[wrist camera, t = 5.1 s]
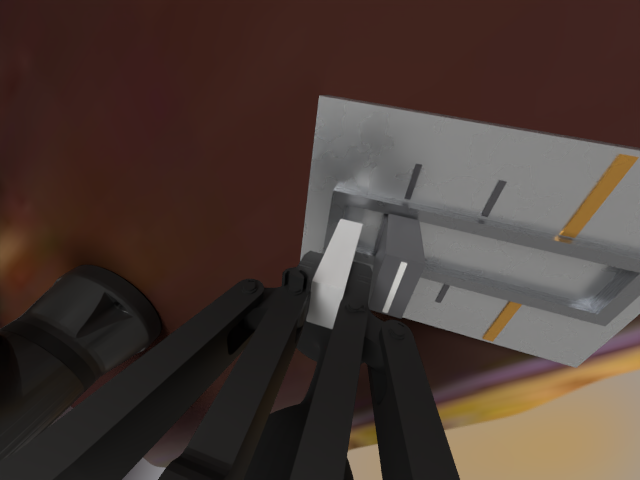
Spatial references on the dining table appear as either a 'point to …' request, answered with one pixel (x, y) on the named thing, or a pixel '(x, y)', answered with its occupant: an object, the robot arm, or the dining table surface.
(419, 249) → the fader knob
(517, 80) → the dining table surface
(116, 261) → the dining table surface
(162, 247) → the dining table surface
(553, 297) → the console
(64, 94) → the dining table surface
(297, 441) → the wine glass
